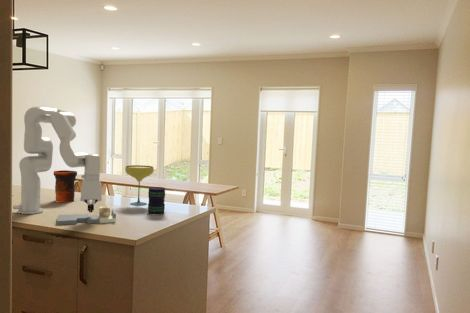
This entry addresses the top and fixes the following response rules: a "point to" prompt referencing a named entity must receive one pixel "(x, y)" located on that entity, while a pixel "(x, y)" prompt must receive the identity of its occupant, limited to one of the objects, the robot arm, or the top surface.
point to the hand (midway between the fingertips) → (90, 211)
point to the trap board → (85, 218)
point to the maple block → (104, 211)
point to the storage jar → (156, 200)
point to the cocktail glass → (139, 177)
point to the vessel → (65, 185)
